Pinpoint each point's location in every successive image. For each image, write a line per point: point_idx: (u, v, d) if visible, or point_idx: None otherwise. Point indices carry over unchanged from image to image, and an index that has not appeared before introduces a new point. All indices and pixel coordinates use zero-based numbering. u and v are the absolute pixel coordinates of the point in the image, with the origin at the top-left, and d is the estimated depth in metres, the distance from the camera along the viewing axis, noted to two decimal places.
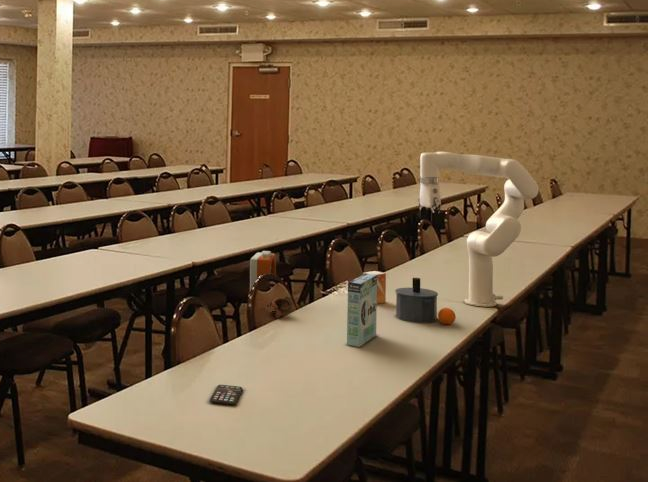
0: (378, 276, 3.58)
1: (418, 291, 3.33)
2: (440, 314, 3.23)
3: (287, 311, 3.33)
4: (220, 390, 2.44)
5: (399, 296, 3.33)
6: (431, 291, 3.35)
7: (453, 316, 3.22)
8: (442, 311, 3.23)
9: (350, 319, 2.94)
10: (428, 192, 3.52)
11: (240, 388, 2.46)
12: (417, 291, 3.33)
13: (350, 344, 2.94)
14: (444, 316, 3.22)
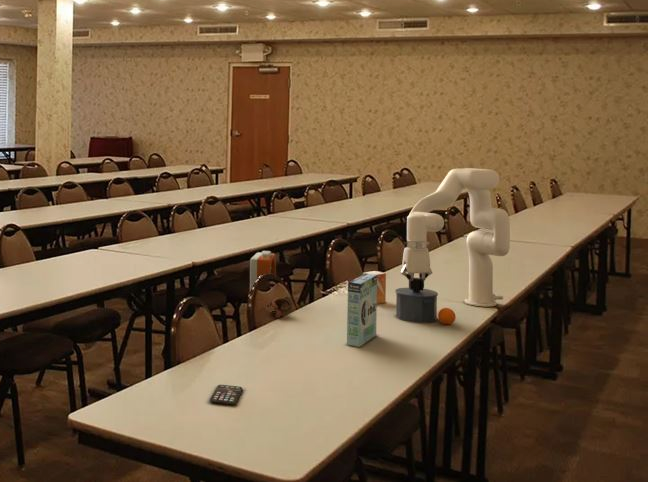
0: (378, 276, 3.58)
1: (418, 291, 3.33)
2: (440, 314, 3.23)
3: (287, 311, 3.33)
4: (220, 390, 2.44)
5: (399, 296, 3.33)
6: (431, 291, 3.35)
7: (453, 316, 3.22)
8: (442, 311, 3.23)
9: (350, 319, 2.94)
10: (427, 256, 3.32)
11: (240, 388, 2.46)
12: (417, 291, 3.33)
13: (350, 344, 2.94)
14: (444, 316, 3.22)
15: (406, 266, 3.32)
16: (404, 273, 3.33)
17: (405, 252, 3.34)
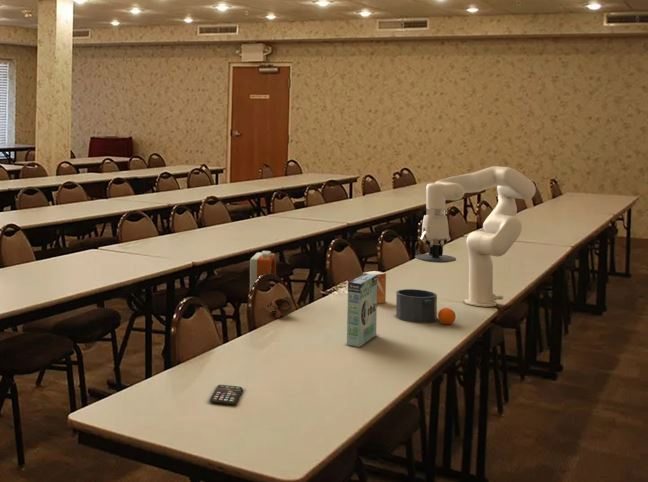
0: (378, 276, 3.58)
1: (437, 256, 3.48)
2: (440, 314, 3.23)
3: (287, 311, 3.33)
4: (220, 390, 2.44)
5: (399, 296, 3.33)
6: (449, 256, 3.50)
7: (453, 316, 3.22)
8: (442, 311, 3.23)
9: (350, 319, 2.94)
10: (445, 223, 3.47)
11: (240, 388, 2.46)
12: (436, 256, 3.48)
13: (350, 344, 2.94)
14: (444, 316, 3.22)
15: (426, 232, 3.47)
16: (424, 239, 3.48)
17: (425, 219, 3.49)
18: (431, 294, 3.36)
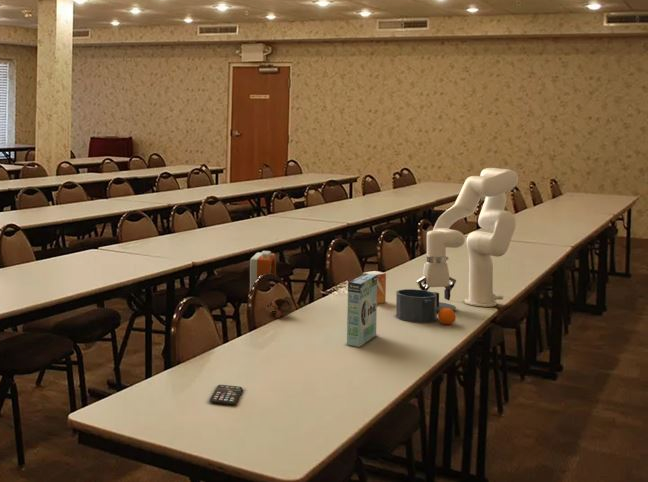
0: (378, 276, 3.58)
1: (437, 305, 3.49)
2: (440, 314, 3.23)
3: (287, 311, 3.33)
4: (220, 390, 2.44)
5: (399, 296, 3.33)
6: (449, 305, 3.51)
7: (453, 316, 3.22)
8: (442, 311, 3.23)
9: (350, 319, 2.94)
10: (446, 271, 3.48)
11: (240, 388, 2.46)
12: None
13: (350, 344, 2.94)
14: (444, 316, 3.22)
15: (426, 280, 3.48)
16: (419, 283, 3.49)
17: (425, 267, 3.50)
18: (431, 294, 3.36)
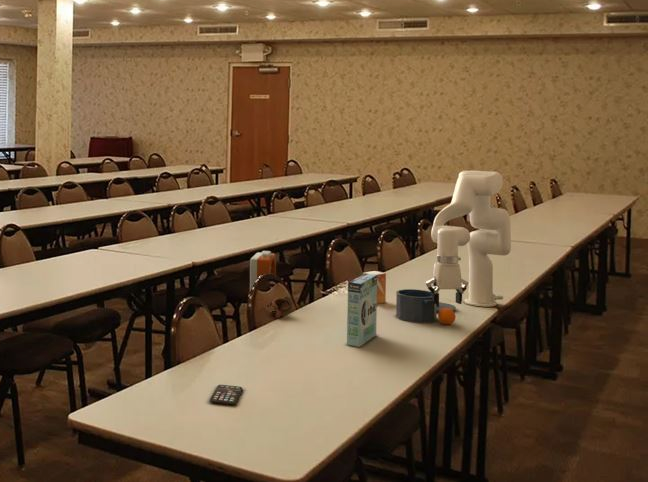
0: (378, 276, 3.58)
1: (437, 305, 3.49)
2: (440, 314, 3.23)
3: (287, 311, 3.33)
4: (220, 390, 2.44)
5: (399, 296, 3.33)
6: (449, 305, 3.51)
7: (453, 316, 3.22)
8: (442, 311, 3.23)
9: (350, 319, 2.94)
10: (458, 272, 3.22)
11: (240, 388, 2.46)
12: None
13: (350, 344, 2.94)
14: (444, 316, 3.22)
15: (437, 282, 3.22)
16: (429, 284, 3.22)
17: (436, 267, 3.23)
18: (431, 294, 3.36)
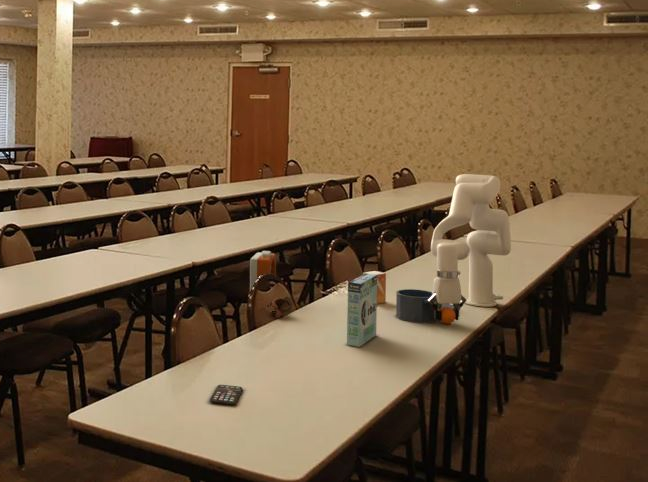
0: (378, 276, 3.58)
1: None
2: None
3: (287, 311, 3.33)
4: (220, 390, 2.44)
5: (399, 296, 3.33)
6: (449, 305, 3.51)
7: (453, 315, 3.22)
8: (442, 310, 3.24)
9: (350, 319, 2.94)
10: (458, 287, 3.22)
11: (240, 388, 2.46)
12: None
13: (350, 344, 2.94)
14: (444, 316, 3.22)
15: (436, 297, 3.22)
16: (431, 302, 3.23)
17: (435, 282, 3.24)
18: (431, 294, 3.36)
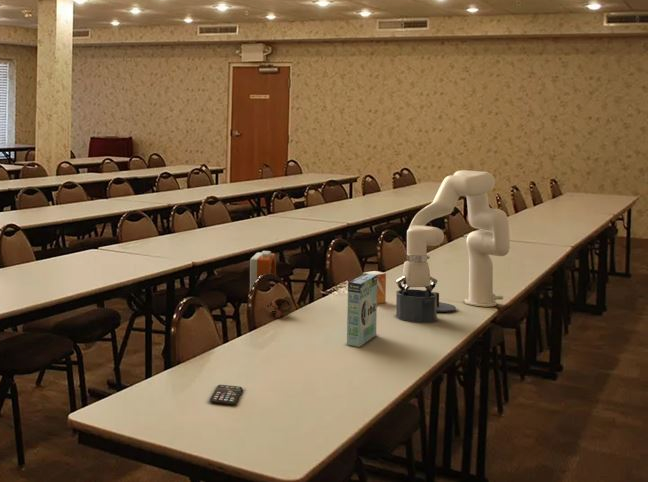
0: (378, 276, 3.58)
1: (437, 305, 3.49)
2: None
3: (287, 311, 3.33)
4: (220, 390, 2.44)
5: (399, 296, 3.33)
6: (449, 305, 3.51)
7: None
8: None
9: (350, 319, 2.94)
10: (427, 270, 3.32)
11: (240, 388, 2.46)
12: None
13: (350, 344, 2.94)
14: None
15: (406, 280, 3.32)
16: (399, 283, 3.33)
17: (405, 266, 3.34)
18: (431, 294, 3.36)
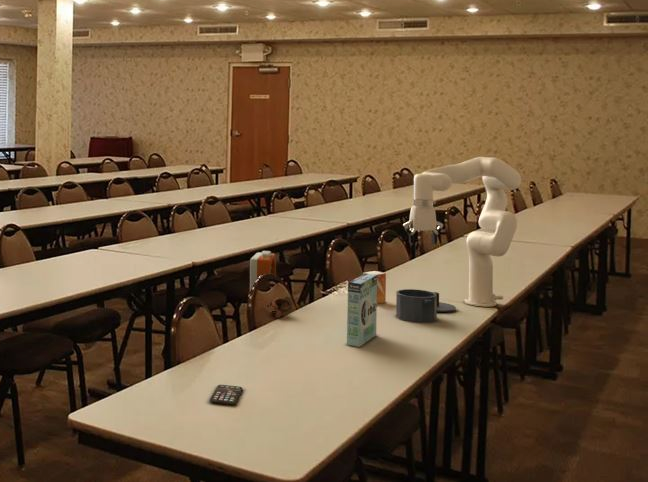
0: (378, 276, 3.58)
1: (437, 305, 3.49)
2: None
3: (287, 311, 3.33)
4: (220, 390, 2.44)
5: (399, 296, 3.33)
6: (449, 305, 3.51)
7: None
8: None
9: (350, 319, 2.94)
10: (433, 214, 3.43)
11: (240, 388, 2.46)
12: None
13: (350, 344, 2.94)
14: None
15: (413, 224, 3.43)
16: (406, 226, 3.43)
17: (412, 210, 3.44)
18: (431, 294, 3.36)
